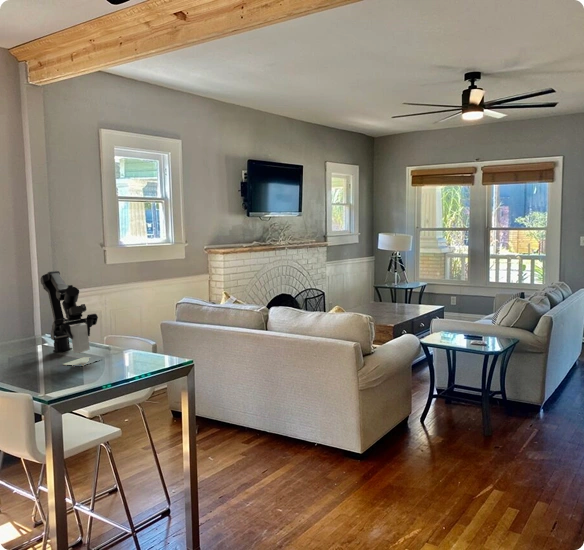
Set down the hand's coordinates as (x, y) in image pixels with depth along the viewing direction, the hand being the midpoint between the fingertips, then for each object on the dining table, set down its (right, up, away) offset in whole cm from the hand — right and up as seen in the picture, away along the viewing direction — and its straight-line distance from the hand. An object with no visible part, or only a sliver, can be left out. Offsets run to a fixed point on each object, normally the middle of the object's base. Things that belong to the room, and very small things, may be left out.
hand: (80, 337), depth 243 cm
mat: (0, -12, +2) cm, 12 cm away
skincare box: (0, -7, +2) cm, 7 cm away
